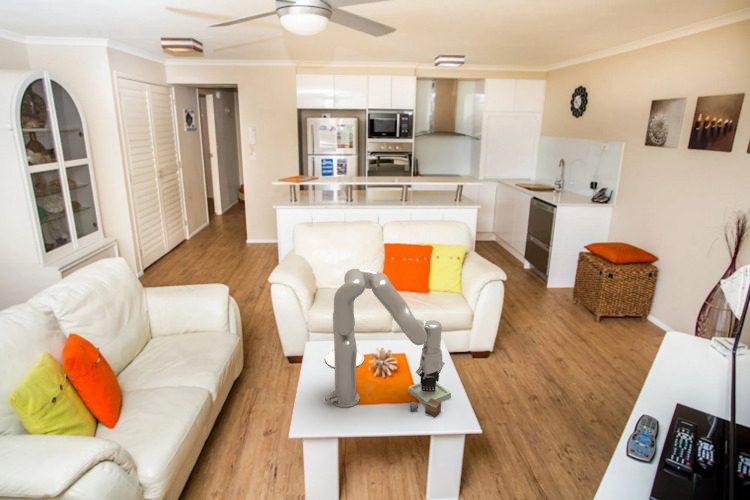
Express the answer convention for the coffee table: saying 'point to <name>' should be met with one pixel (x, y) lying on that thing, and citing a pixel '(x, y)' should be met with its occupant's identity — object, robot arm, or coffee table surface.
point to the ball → (413, 405)
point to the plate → (331, 359)
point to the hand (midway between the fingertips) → (429, 382)
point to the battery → (430, 382)
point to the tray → (429, 393)
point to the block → (433, 407)
